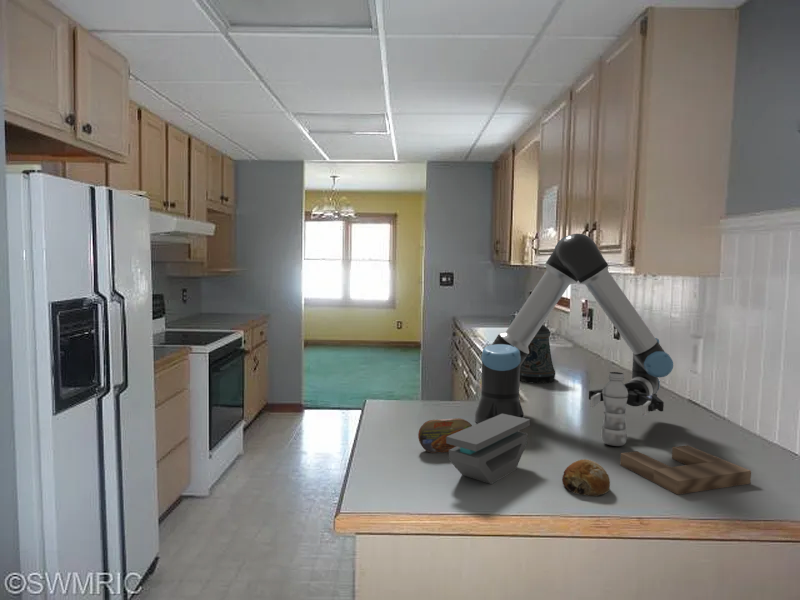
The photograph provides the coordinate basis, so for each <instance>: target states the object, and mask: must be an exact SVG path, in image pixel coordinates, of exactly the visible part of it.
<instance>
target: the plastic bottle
mask: <svg viewBox="0 0 800 600" xmlns="http://www.w3.org/2000/svg"><path fill="white" fill-rule="evenodd" d="M607 379H608V382H607V383H606V384H605V385H604V387H603V388H602V389H603V391H602V392H603V401H602V402H603V421H602V427H601V430H600V437H601V441H602V443H604V444H605V445H607V446H608V445H609V446H612V447H622V446H625V444H626V443H627V439H628V434H627V429H626V428H627V427H626V411H627V405H628V404H627V399H628V391H627V389H626V387H625V385H624V384H625V383H624V381H625V378H624V372H619V371H609V373H608V377H607Z"/></svg>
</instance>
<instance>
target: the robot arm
mask: <svg viewBox="0 0 800 600" xmlns="http://www.w3.org/2000/svg"><path fill="white" fill-rule="evenodd" d="M544 266H545V268H546V270H545V272H544V274H542V277H541V278H540V279H539V281H538V283H537V284H536V286H535V287H534V288H533V291H532V292H531V293H530V295H529V296H528V298H527V299H526V301H525V302H524V303H523V305H522V306H521V308H520V310H519V311H518V313H517V315H516V316H515V317H514V319H513V320H512V321H511V323H510V325H509V326H508V328H507V329H506V331H503V332H499V333H498V334H497V336H496V338H495V339H494V341H493V342H492V344H490V345H487V346H485V347H484V348H483V349H482V354H481V359H480V360H481V385H480V386H481V392H480V399H479V401H478V405H477V406H476V410H475V413H474V421H475V423H476V424H478V423H480V422H483V421H485V420H488V419H490V418H493V417H495V416H497V415H500V414H507V415H512V416H516V417H521V418H525V414H524V411H523V406H522V404H521V400H520V382H521V381H520V366H521V364H522V363H523V361H524V360H525V358H526V357H527V355H528V354H529V349H528V345H529V344H530V342H531V341H532V340H533V338H534V337H535V335H536V334H537V332H538V331H539V329H540V328H541V326H542V325H544V323H545V322H546V321H547V319H548V317H549V316H550V314H551V313H552V312H553V310H554V308H555V307H556V306H557V304H558V302H559V301H560V300H561V298H562V297H563V296H564V293H565V292H566V291H567V289H568V288H569V286H570V285H572V284H577V283H579V284H581V285H585V286H586V288H587V289H588V290H589V292H590V293H591V295H592V297H593V298H594V300H595V301H596V302H597V304H598V305H599V306H600V308H601V309H602V311H603V312H604V314H605V315H606V316H607V317H608V319H609V321H610V322H611V324H612V325H613V326H614V328H615V329H616V331H617V332H618V333H619V335H620V337H622V340H624V342H625V343H626V345H627V346H628V348H629V349H630V351H631V352H632V370H631V379H630V380H628V381H627V382H625V383H623V384H624V385H625V387H626V389H627V391H628V399H627V404H626V405H628V406H631V407H641V409H642V410H641V416H644V417H645V416H647V414H649V413H650V412H654V411H656V410H658V412H664V408H665V407H664V404H665V402H664V401H663V400H662V399H661V398H659V397H658V394H657V393H658V391H659V390H660V386H661V382H660V379H659V378H665V377H668V375H670V374H671V373H672V371H673V368H674V361H673V359H672V357H671V356H670V355H669V354H668V353H667V352H666V351H665V350H664V348H663V347H662V345H661V344H660V340H659V338H657V337H655V335H654V334H653V333H652V331H651V330H650V328H649V327H648V326H647V324H646V323H645V321H644V320H643V319H642V317H641V316H640V314H639V312H637V310H636V309H635V307H634V305H633V304H632V302H631V301H630V300H629V299H628V297H627V295H626V294H625V293H624V291H623V289H621V288H620V286H619V284H618V283H617V281H616V280H615V279H614V277H613V275H612V274H611V273H610V271H609V267H610V266H609V264H608V262H607V261H606V259H605V257H604V256H603V255H602V253H601V251H600V250H599V248H598V246H597V243H595V241H594V240H593V238H591V237H590V236H589V235H587V234H583V233H572V234H568V235H567V236H564V237H563V238H561V239H560V240H559V241H558V242H557V243H556V244H555V246H554V249H553V251H552V253H551V254H550V255H549V257H548V259H547V260H546V262H545V264H544ZM602 391H603V388H602V389H601V388H600V389H593V390H588V400H590V407H591V408H594V407H596V406H597V405H599V404H601V402H603V392H602Z"/></svg>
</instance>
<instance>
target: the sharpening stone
mask: <svg viewBox="0 0 800 600" xmlns="http://www.w3.org/2000/svg"><path fill="white" fill-rule="evenodd" d="M530 425H531V418H525V417H524V418H521V417H516V416H512V415H507V414H500V415H497V416H495V417H493V418H490V419H488V420H485V421H483V422H480V423H476V424H473V425H472V426H471V427H468V428H466V429H464V430H461V431H459V432H456V433H454V434H452V435H449V436H447V437H446V443H447V444H450V445H454V446H456V447H454V448H452V449H450V450H449V452H448V460H449V461H450V462H451V464H452V465H453V466H454V467H455V468H456V470H457V471H458V472H459V473H460V474H461V476H463V477H467V478H471V479H473V480H477V481H480V482H484V483H485V484H490V485H492V484H494V483H496V482H498V481H499V480H501V479H502V478H504V477H506V476H508V475H509V474H511V473H512V472H515V471H516V470H517V468H518V466H519V463H520V461H521V459H522V456H523V453H524V451H525V448H526V446H527V443H528V433H527V432H522V431H521V430H523V429H526V428H528V427H530Z"/></svg>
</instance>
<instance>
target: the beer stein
mask: <svg viewBox="0 0 800 600" xmlns="http://www.w3.org/2000/svg"><path fill="white" fill-rule="evenodd" d="M550 336H551V331H550V329H549V328H548V327H547V326H546V325H544V324H543V325H542V326H541V328H540V329H539V331H538V332H537V334H536V335H535V337H534V338H533V340H532V341H531V342H530V344H529V345H528V349H529V354H528V355H527V357H526V358H525V360H524V361H523V363H522V364H521V366H520V380H521V381H520V382H524V381H526V382H525V383H529V382H533V383H532V384H549V382H550V383H552V382H554V381H555V377H556V370H555V367H554V363H553V360H552V355H551V346H550V345H551V343H550Z"/></svg>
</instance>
